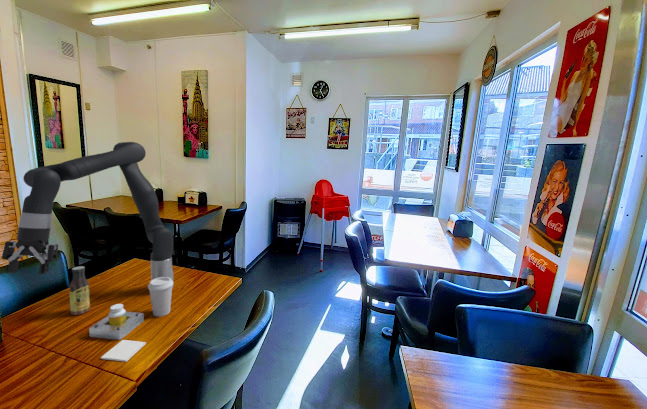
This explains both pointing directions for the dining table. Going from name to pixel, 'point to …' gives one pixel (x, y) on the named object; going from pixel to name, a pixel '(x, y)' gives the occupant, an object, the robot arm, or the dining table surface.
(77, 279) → the sauce bottle
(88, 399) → the dining table surface
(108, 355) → the mat
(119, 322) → the supplement bottle
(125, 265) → the dining table surface
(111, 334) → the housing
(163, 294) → the coffee cup
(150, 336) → the dining table surface
